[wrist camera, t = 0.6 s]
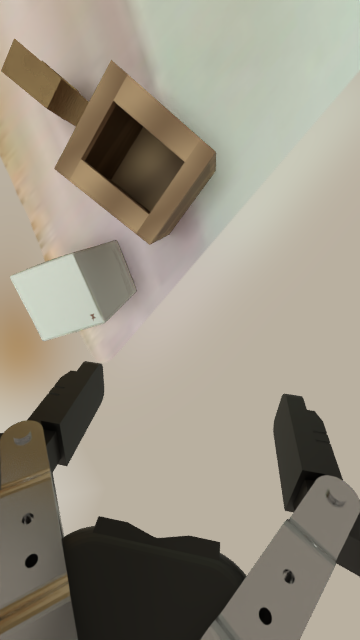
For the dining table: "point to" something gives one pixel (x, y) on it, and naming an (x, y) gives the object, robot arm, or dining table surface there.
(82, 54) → the dining table surface
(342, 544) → the robot arm
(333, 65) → the dining table surface
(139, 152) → the brown wooden bin
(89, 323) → the supplement box
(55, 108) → the gold rectangular block
